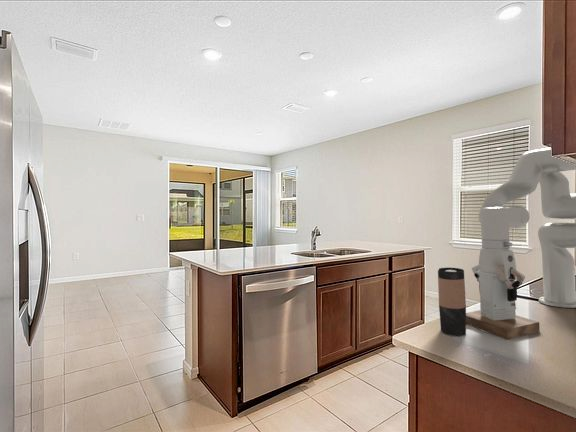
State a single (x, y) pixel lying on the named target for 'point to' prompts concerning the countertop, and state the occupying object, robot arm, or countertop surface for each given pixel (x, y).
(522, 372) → the countertop surface
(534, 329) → the walnut base board
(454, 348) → the countertop surface
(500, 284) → the skincare box
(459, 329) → the travel mug
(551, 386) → the countertop surface
